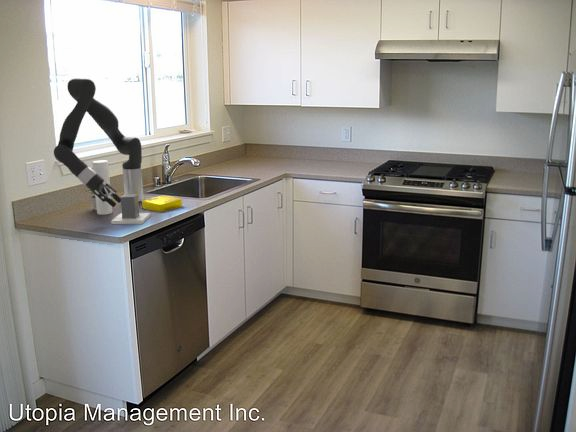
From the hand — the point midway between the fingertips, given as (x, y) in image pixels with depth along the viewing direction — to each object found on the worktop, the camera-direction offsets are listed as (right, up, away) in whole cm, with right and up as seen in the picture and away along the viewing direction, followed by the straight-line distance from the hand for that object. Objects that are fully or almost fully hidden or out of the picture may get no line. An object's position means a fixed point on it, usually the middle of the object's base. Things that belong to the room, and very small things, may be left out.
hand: (118, 203), depth 272 cm
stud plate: (+6, -7, +2) cm, 10 cm away
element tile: (+15, -2, +26) cm, 30 cm away
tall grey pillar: (+6, -6, +1) cm, 8 cm away
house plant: (-18, -2, +25) cm, 31 cm away
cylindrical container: (-11, -4, +16) cm, 20 cm away
